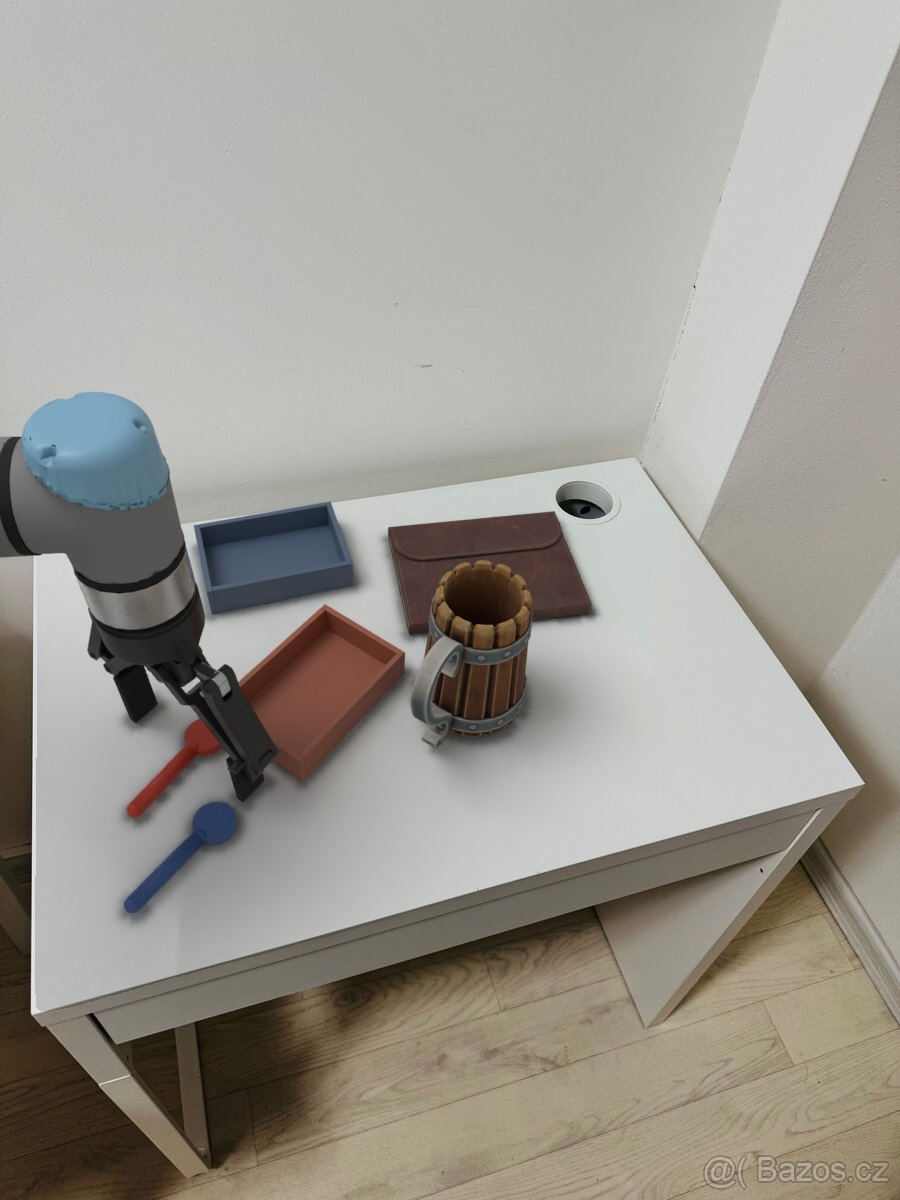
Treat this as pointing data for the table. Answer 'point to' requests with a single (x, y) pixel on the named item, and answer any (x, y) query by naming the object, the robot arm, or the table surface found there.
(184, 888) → the table surface
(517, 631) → the mug
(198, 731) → the red spoon
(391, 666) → the red bin
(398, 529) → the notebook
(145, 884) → the blue spoon
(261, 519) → the blue bin
